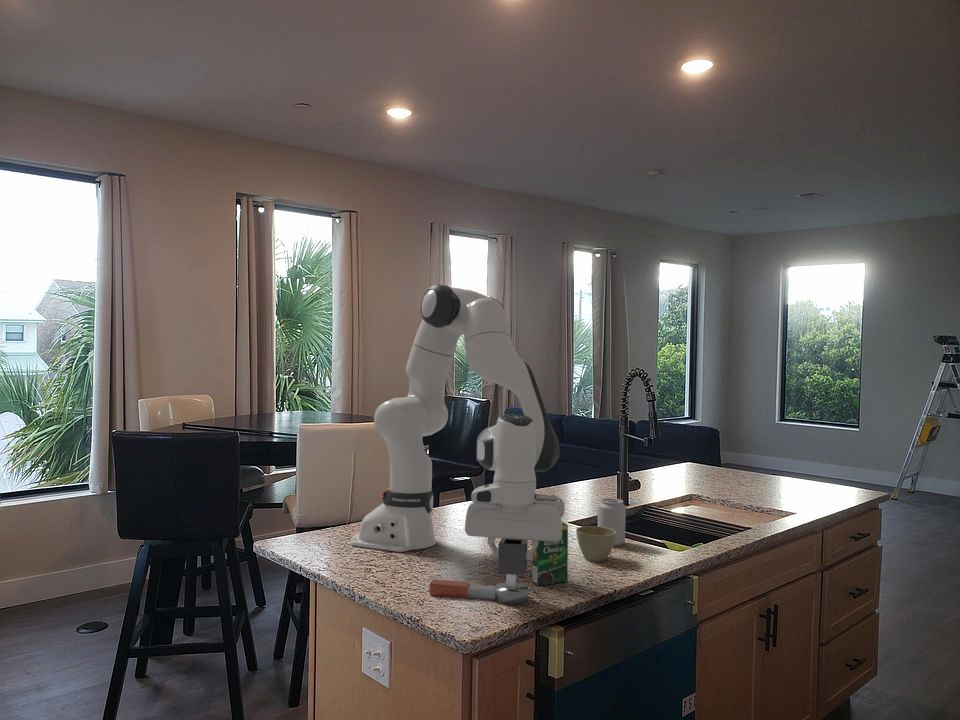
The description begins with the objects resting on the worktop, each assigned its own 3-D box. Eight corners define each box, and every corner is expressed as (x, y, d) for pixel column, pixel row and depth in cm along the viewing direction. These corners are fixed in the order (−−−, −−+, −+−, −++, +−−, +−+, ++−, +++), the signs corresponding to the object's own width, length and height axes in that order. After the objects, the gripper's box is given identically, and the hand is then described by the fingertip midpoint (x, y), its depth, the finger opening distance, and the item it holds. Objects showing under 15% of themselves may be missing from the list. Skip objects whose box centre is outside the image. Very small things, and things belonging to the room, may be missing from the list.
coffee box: (536, 586, 157) (538, 527, 157) (530, 582, 160) (531, 524, 160) (568, 582, 161) (569, 524, 161) (561, 579, 163) (563, 521, 163)
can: (626, 541, 198) (627, 498, 198) (622, 548, 191) (624, 503, 191) (599, 538, 200) (600, 496, 200) (594, 545, 193) (596, 501, 193)
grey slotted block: (497, 573, 147) (498, 544, 147) (501, 565, 152) (502, 537, 152) (524, 575, 146) (524, 545, 146) (526, 567, 151) (527, 539, 151)
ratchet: (427, 598, 148) (428, 571, 148) (435, 587, 155) (435, 562, 155) (526, 606, 145) (526, 579, 145) (529, 595, 152) (530, 569, 152)
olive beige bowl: (606, 567, 174) (607, 537, 174) (568, 560, 179) (569, 531, 179) (621, 557, 182) (622, 529, 182) (585, 551, 187) (585, 523, 187)
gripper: (565, 493, 150) (563, 558, 150) (469, 487, 154) (468, 552, 154) (563, 498, 144) (562, 567, 144) (464, 493, 147) (462, 560, 147)
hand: (512, 559), depth 149 cm, fingers closed on grey slotted block, 5 cm apart
